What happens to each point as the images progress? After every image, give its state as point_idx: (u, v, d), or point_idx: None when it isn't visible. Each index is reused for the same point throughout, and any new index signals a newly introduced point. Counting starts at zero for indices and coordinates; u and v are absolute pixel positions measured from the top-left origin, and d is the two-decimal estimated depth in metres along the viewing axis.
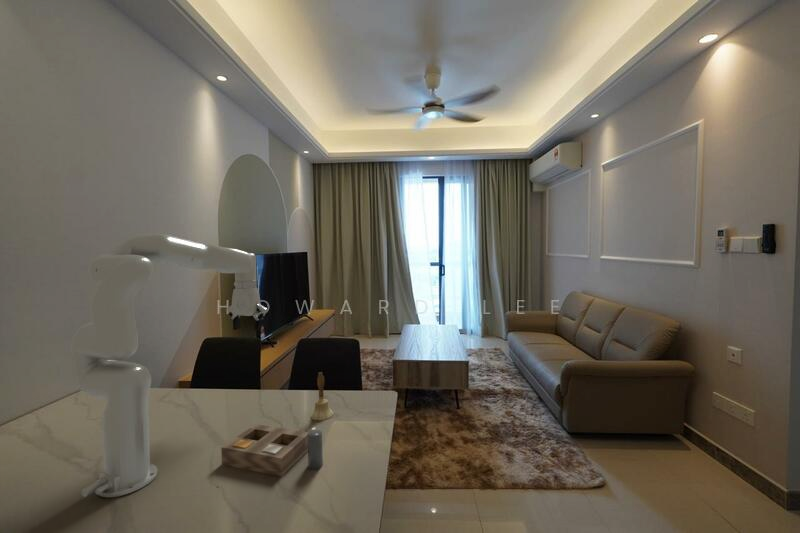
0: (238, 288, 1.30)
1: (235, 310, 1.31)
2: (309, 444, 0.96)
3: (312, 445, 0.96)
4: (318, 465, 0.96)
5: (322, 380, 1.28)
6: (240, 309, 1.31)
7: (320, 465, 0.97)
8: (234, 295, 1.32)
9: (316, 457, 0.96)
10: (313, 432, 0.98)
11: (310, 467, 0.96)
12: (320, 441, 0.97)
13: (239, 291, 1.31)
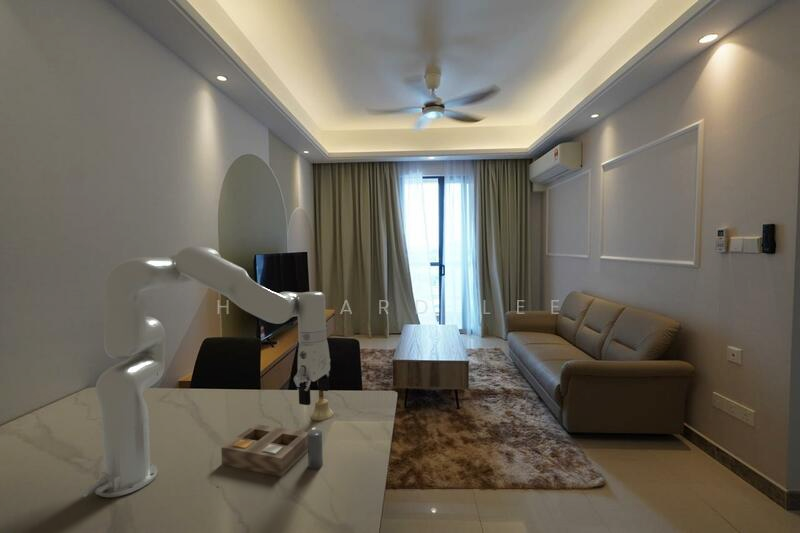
0: (323, 340, 0.95)
1: (317, 373, 0.94)
2: (309, 444, 0.96)
3: (312, 445, 0.96)
4: (318, 465, 0.96)
5: None
6: (321, 369, 0.96)
7: (320, 465, 0.97)
8: (315, 353, 0.93)
9: (316, 457, 0.96)
10: (313, 432, 0.98)
11: (310, 467, 0.96)
12: (320, 441, 0.97)
13: (319, 345, 0.95)
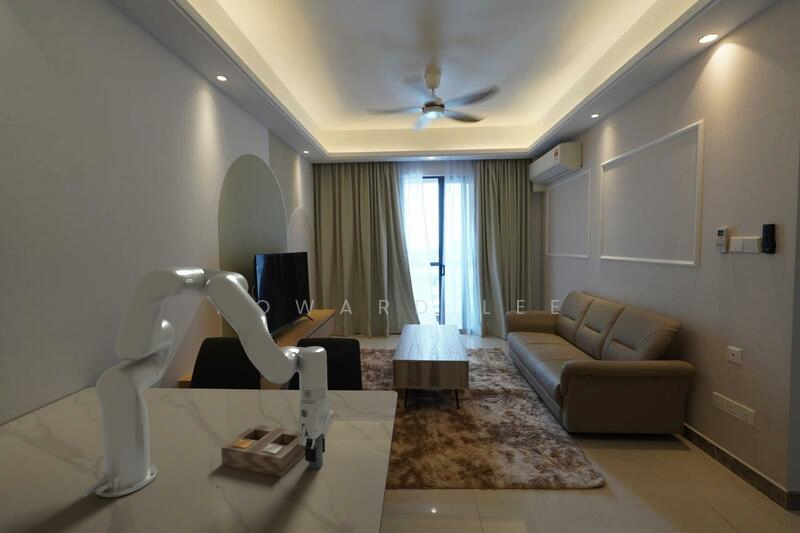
0: (324, 396, 0.96)
1: (318, 431, 0.94)
2: None
3: None
4: (318, 465, 0.96)
5: None
6: (322, 425, 0.96)
7: (320, 465, 0.97)
8: (316, 410, 0.94)
9: (316, 457, 0.96)
10: None
11: (310, 467, 0.96)
12: (320, 441, 0.97)
13: (320, 401, 0.96)
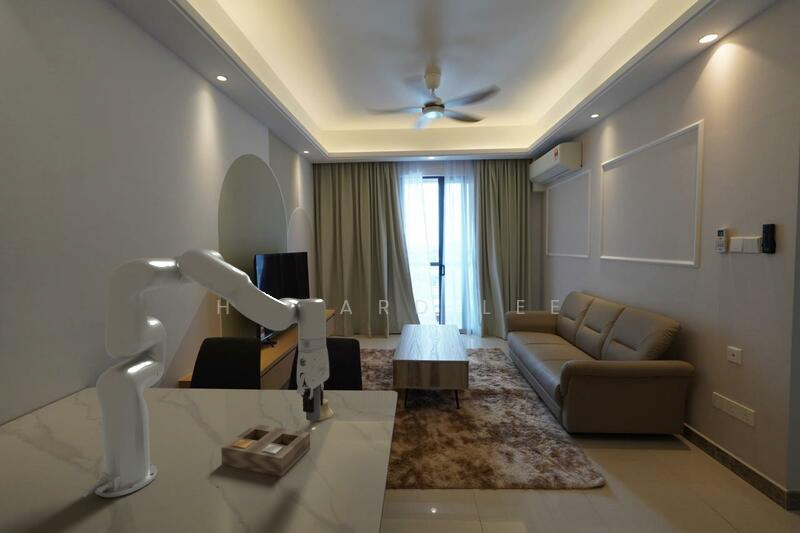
0: (323, 347, 0.95)
1: (316, 380, 0.94)
2: None
3: None
4: (316, 416, 0.96)
5: None
6: (320, 377, 0.96)
7: (318, 417, 0.96)
8: (314, 360, 0.93)
9: (314, 408, 0.95)
10: None
11: (308, 418, 0.96)
12: (318, 392, 0.96)
13: (319, 352, 0.95)
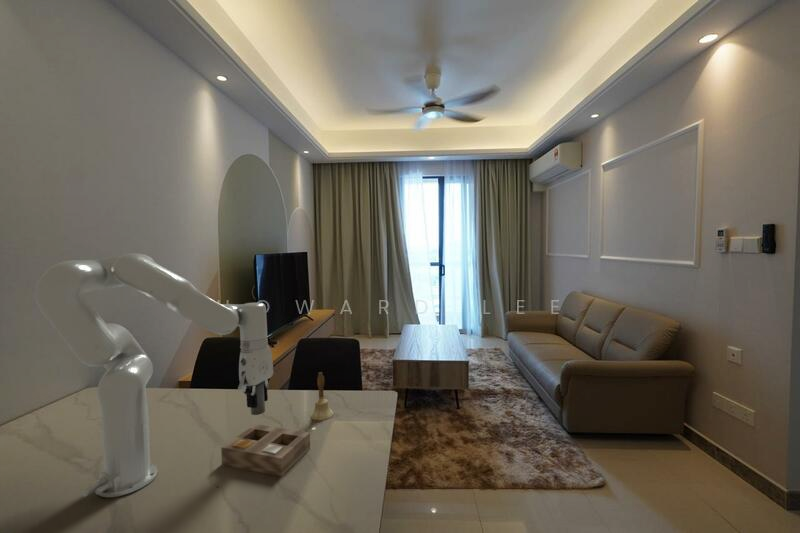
0: (264, 347, 1.03)
1: (257, 378, 1.01)
2: None
3: None
4: (260, 411, 1.04)
5: (322, 380, 1.28)
6: (262, 374, 1.04)
7: (262, 411, 1.04)
8: (254, 359, 1.01)
9: (257, 404, 1.03)
10: None
11: (252, 413, 1.04)
12: (261, 389, 1.04)
13: (260, 352, 1.03)
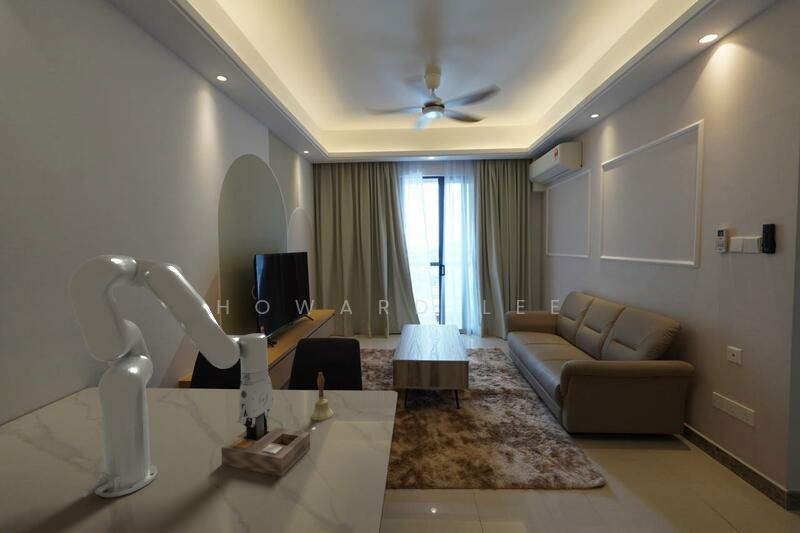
0: (264, 379, 1.03)
1: (257, 410, 1.02)
2: None
3: None
4: None
5: (322, 380, 1.28)
6: (262, 406, 1.04)
7: None
8: (255, 392, 1.01)
9: (257, 435, 1.04)
10: None
11: None
12: (261, 420, 1.04)
13: (260, 383, 1.03)
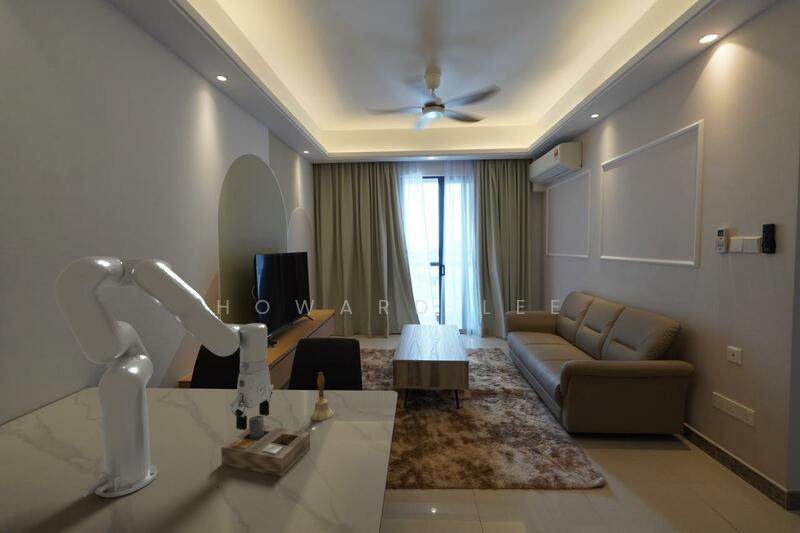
0: (263, 369, 1.03)
1: (254, 400, 1.01)
2: (250, 428, 1.03)
3: (253, 429, 1.03)
4: None
5: (322, 380, 1.28)
6: (260, 396, 1.03)
7: None
8: (253, 381, 1.01)
9: (256, 440, 1.03)
10: (255, 417, 1.06)
11: None
12: (261, 425, 1.04)
13: (259, 373, 1.03)
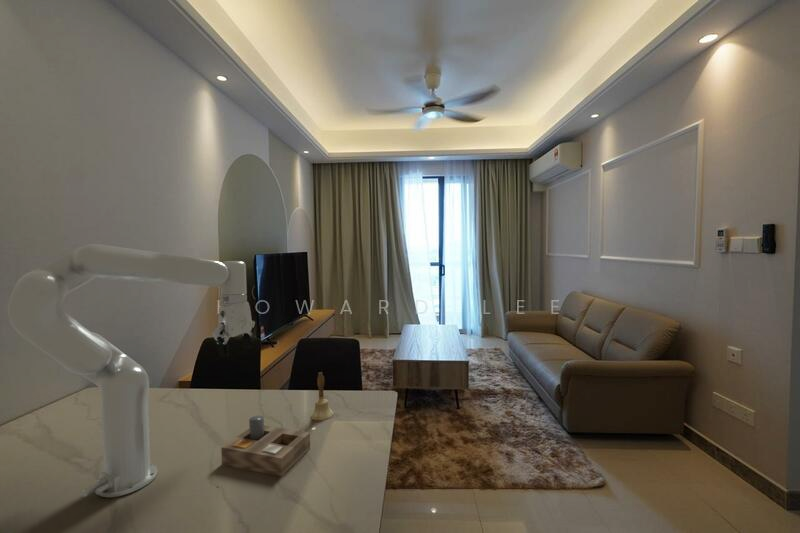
0: (242, 302, 1.10)
1: (235, 330, 1.08)
2: (250, 428, 1.04)
3: (253, 428, 1.03)
4: None
5: (322, 380, 1.28)
6: (240, 327, 1.11)
7: None
8: (233, 312, 1.08)
9: (257, 440, 1.03)
10: (255, 417, 1.06)
11: None
12: (261, 425, 1.04)
13: (239, 306, 1.10)
